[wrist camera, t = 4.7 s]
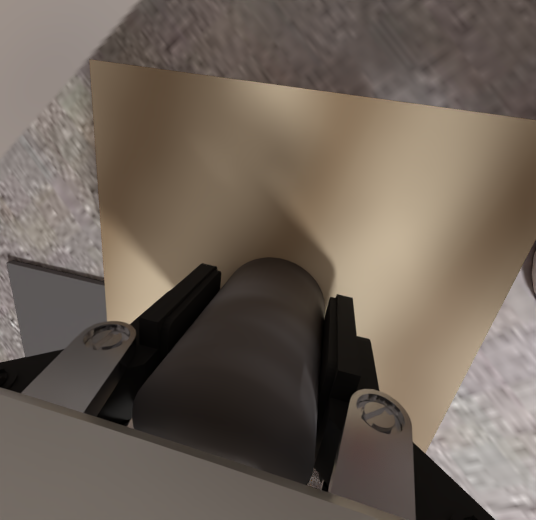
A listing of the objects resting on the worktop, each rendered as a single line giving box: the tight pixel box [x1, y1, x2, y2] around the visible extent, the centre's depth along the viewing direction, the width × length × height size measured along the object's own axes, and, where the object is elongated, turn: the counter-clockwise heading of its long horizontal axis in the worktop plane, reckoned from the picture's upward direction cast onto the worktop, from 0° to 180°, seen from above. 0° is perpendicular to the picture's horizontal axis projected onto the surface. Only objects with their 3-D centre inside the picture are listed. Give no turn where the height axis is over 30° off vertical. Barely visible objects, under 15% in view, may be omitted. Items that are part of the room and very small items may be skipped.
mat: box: [7, 261, 107, 357], centre depth 30 cm, size 16×16×1 cm
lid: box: [89, 59, 536, 485], centre depth 9 cm, size 15×15×7 cm
